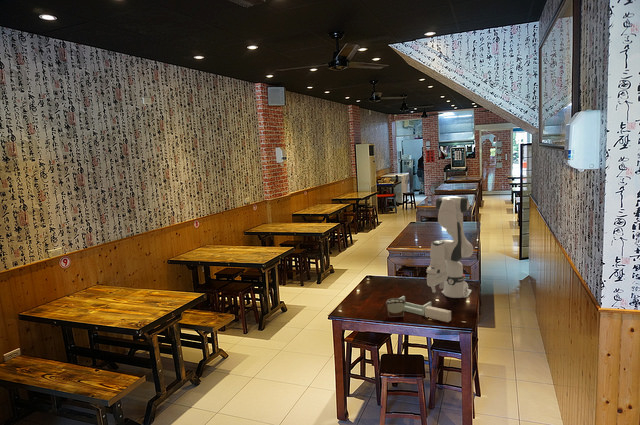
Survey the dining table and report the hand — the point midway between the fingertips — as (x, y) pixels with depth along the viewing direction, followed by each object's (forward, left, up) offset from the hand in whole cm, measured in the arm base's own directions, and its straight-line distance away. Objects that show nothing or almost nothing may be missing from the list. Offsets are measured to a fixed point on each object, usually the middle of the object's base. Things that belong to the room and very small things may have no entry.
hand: (437, 290), depth 258 cm
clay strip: (0, 0, -18) cm, 18 cm away
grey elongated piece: (-4, -19, -18) cm, 26 cm away
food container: (+10, -24, -18) cm, 32 cm away
